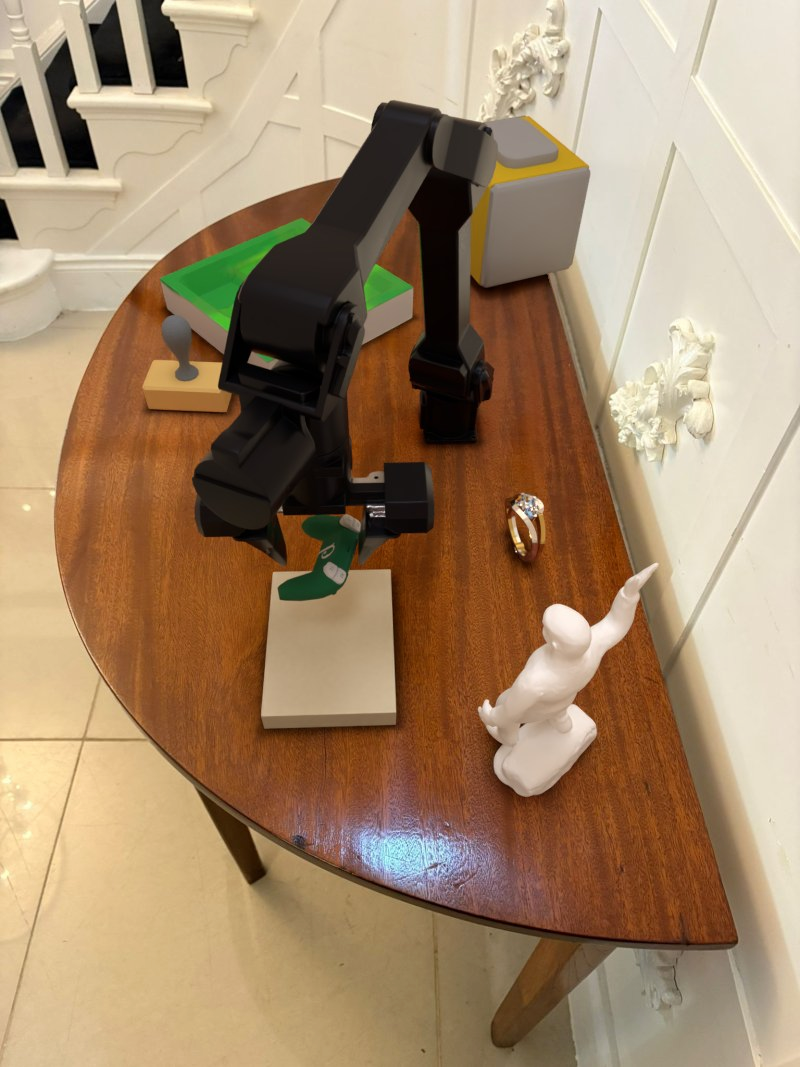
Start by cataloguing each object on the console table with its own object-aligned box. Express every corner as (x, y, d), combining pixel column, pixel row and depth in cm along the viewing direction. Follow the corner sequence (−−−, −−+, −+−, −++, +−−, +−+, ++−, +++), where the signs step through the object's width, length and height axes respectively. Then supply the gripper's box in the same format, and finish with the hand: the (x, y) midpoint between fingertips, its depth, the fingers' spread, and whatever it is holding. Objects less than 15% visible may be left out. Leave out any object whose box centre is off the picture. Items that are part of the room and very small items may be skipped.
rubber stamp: (234, 384, 101) (219, 304, 92) (226, 414, 98) (209, 334, 88) (159, 381, 101) (136, 301, 92) (148, 410, 98) (123, 330, 88)
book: (390, 581, 81) (390, 567, 79) (396, 725, 71) (396, 712, 69) (275, 584, 81) (272, 570, 79) (264, 728, 70) (260, 716, 68)
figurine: (570, 693, 73) (636, 521, 54) (612, 774, 68) (701, 615, 49) (452, 730, 71) (476, 562, 51) (487, 816, 66) (528, 666, 46)
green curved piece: (302, 619, 68) (348, 600, 64) (270, 596, 66) (315, 575, 63) (330, 540, 74) (373, 519, 70) (300, 517, 72) (343, 494, 68)
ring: (543, 572, 82) (556, 523, 76) (515, 578, 82) (525, 529, 76) (521, 524, 87) (531, 474, 80) (493, 529, 86) (502, 479, 80)
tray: (412, 317, 111) (413, 286, 107) (271, 393, 100) (267, 362, 96) (304, 247, 123) (301, 217, 119) (167, 309, 112) (159, 278, 108)
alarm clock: (575, 280, 118) (600, 157, 104) (481, 302, 114) (495, 178, 100) (514, 219, 129) (530, 101, 115) (428, 237, 125) (433, 117, 111)
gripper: (430, 361, 62) (422, 493, 74) (196, 363, 62) (227, 496, 74) (439, 458, 55) (429, 587, 67) (175, 462, 55) (213, 591, 67)
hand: (323, 561), depth 69 cm, fingers closed on green curved piece, 6 cm apart
